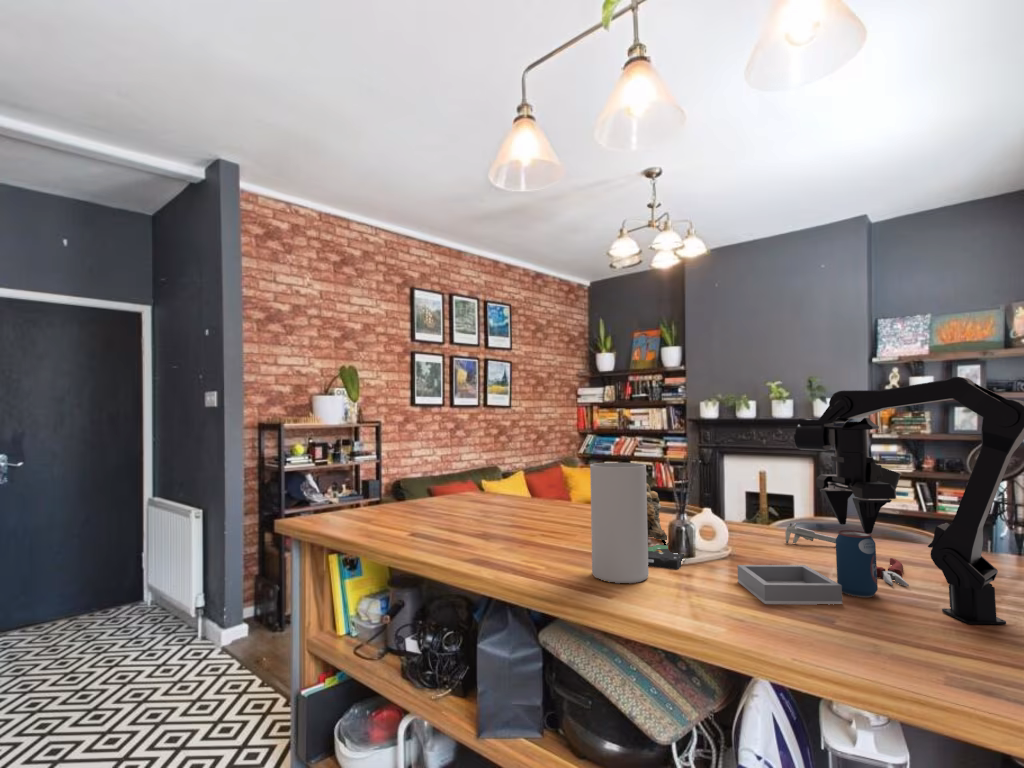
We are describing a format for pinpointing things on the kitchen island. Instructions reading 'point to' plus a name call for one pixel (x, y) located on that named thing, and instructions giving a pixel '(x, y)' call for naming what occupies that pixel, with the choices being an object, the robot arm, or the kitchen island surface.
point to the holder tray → (789, 584)
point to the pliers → (892, 573)
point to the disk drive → (663, 557)
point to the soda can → (856, 563)
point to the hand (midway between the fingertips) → (855, 528)
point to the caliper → (806, 534)
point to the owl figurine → (654, 516)
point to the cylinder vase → (619, 522)
